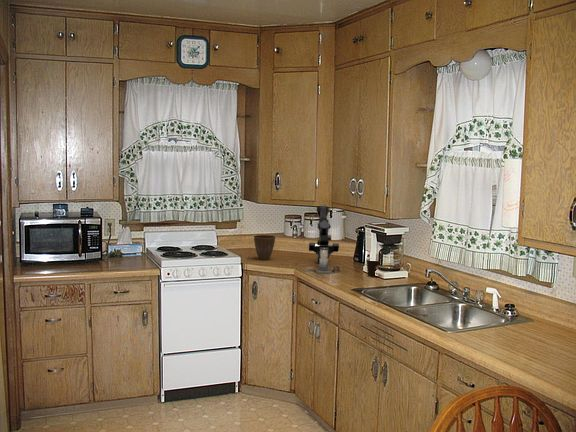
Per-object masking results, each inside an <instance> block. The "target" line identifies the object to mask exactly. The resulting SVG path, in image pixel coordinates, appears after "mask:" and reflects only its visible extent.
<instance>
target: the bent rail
mask: <svg viewBox="0 0 576 432" xmlns="http://www.w3.org/2000/svg"><path fill="white" fill-rule="evenodd" d="M340 268H341V266H340V265H339V264H336V265H335V266H333V271H332V273H334V274H338V272H340V271H341V270H340Z"/></svg>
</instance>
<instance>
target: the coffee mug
mask: <svg viewBox="0 0 576 432" xmlns="http://www.w3.org/2000/svg"><path fill="white" fill-rule="evenodd" d="M370 259H371V258H367V259H366V268H367V277H369V276H371V277H372V278H375V277H374V276H375V271H376V270H377V269H378V267H379V263H380V264H381V262H380V261H370ZM371 277H370V278H371Z"/></svg>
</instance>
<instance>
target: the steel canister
mask: <svg viewBox="0 0 576 432" xmlns="http://www.w3.org/2000/svg"><path fill="white" fill-rule="evenodd" d="M318 264H319V265H318V266H319V268H318V269H329V268H328V266H329V259H328V247H320V263H318Z"/></svg>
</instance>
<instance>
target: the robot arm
mask: <svg viewBox="0 0 576 432" xmlns="http://www.w3.org/2000/svg"><path fill="white" fill-rule="evenodd" d="M316 213H317V217H318V219H319V220H318V223H317V229H318V231H319V235H318V236H319V239H318V240H317V242H309V244H308V251H309V252H314V253H315V254H316V255H317V257H316V260H315V262H316V263H317V264H319V263H320V247H328V260H329V259H330V256H331V255H332V253H333V254H334V253H337V252H339V250H340V244H339V243H336V242H334V243H333V242H332V244H331V245H330V244H329V242H330V241H332V235H331V234H329V230H330V229H331V224H330V222H329V220H328V219H327V218H328V215H329V213H330V206H328V205H323V204H322V205H317V206H316Z"/></svg>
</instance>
